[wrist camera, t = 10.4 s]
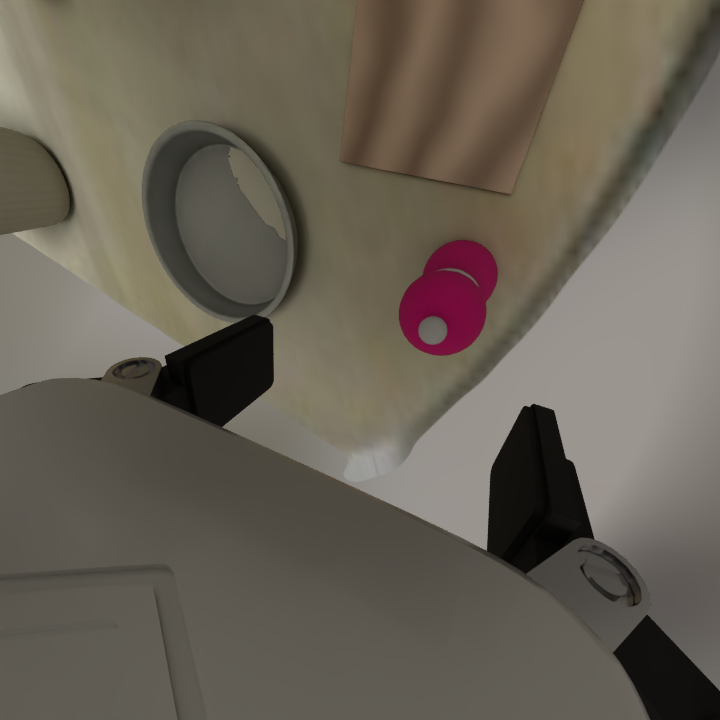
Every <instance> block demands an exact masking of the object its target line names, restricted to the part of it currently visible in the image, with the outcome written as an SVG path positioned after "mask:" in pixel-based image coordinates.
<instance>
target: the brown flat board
mask: <svg viewBox="0 0 720 720" xmlns="http://www.w3.org/2000/svg"><path fill="white" fill-rule="evenodd" d="M583 1H584V0H357V6H356V15H355V25H354V34H353V43H352V52H351V62H350V71H349V80H348V89H347V98H346V108H345V117H344V126H343V135H342V145H341V154H340V162H345V163H350V164H355V165H361V166H366V167H371V168H376V169H382V170H387V171H392V172H397V173H402V174H408V175H413V176H418V177H423V178H428V179H434V180H439V181H444V182H449V183H455V184H460V185H465V186H470V187H475V188H481V189H486V190H491V191H496V192H501V193H507V194H511V193H512V190H513V188H514V185H515V182H516V180H517V177H518V174H519V172H520V169H521V166H522V164H523V161H524V158H525V156H526V153H527V150H528V148H529V145H530V142H531V140H532V137H533V134H534V132H535V129H536V126H537V124H538V121H539V118H540V116H541V113H542V110H543V108H544V105H545V102H546V100H547V97H548V94H549V92H550V89H551V86H552V84H553V81H554V78H555V76H556V73H557V70H558V68H559V65H560V62H561V60H562V57H563V54H564V52H565V49H566V46H567V44H568V41H569V38H570V36H571V33H572V30H573V28H574V25H575V22H576V20H577V17H578V14H579V12H580V9H581V6H582V4H583Z"/></svg>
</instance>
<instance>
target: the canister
mask: <svg viewBox="0 0 720 720" xmlns="http://www.w3.org/2000/svg"><path fill="white" fill-rule="evenodd" d="M69 207H70V198H69V192H68V188H67V185H66V182H65V179H64V176H63V175H62V172H61V170H60V169H59V167H58V165H57V164H56V163H55V160H54V159H53V158H52V157H51V155H50V154H49V153H48V152H47V151H46V149H45V148H44V147H42V146H41V145H40V144H39V143H38V142H36V141H35V140H33V139H32V138H30V137H28V136H26V135H24V134H22V133H19V132H17V131H14V130H10V129H7V128H3V127H0V235H2V234H8V233H14V232H19V231H25V230H30V229H35V228H40V227H45V226H49V225H53V224H56V223H58V222H60V221H62V220H63V219H64V218H65V217H66V216H67V214H68V211H69Z"/></svg>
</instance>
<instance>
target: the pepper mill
mask: <svg viewBox="0 0 720 720" xmlns="http://www.w3.org/2000/svg"><path fill="white" fill-rule="evenodd" d="M497 274H498V271H497V265H496V262H495V260H494V258H493V256H492V255H491V253H490V252H489V251H488V250H487V249H486V248H485V247H483V246H482V245H480V244H479V243H476V242H473V241H468V240H457V241H453V242H449V243H447V244H445V245H443V246H442V247H440V248H439V249H437V250H436V251H435V252H434V253H433V254H432V256H431V257H430V259H429V260H428V262H427V264H426V266H425V269H424V272H423V276H421V277H420V278H418V279H417V280H416V281H414V282H413V283H412V284H411V285H410V286H409V287H408V289H407V290H406V292H405V294H404V296H403V298H402V300H401V303H400V308H399V321H400V326H401V329H402V331H403V333H404V335H405V337H406V338H407V340H408V341H409V342H410V343H411V344H412V345H413V346H414V347H416V348H417V349H419V350H420V351H423V352H425V353H428V354H432V355H439V356H442V355H450V354H454V353H457V352H460V351H462V350H463V349H465V348H467V347H468V346H470V345H471V344H472V343H473V342H474V341H475V340H476V338H477V337H478V336H479V334H480V332H481V331H482V329H483V326H484V323H485V319H486V303H485V302H486V301H487V300H488V299H489V297H490V296H491V294H492V292H493V290H494V288H495V285H496V282H497Z"/></svg>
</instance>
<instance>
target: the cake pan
mask: <svg viewBox="0 0 720 720" xmlns="http://www.w3.org/2000/svg"><path fill="white" fill-rule="evenodd" d="M230 147H233V148H236V149H239V150H242V151H243V152H244V153H245V154H246V155H247V156H248V157H249V158H250V159H251V160H252V161H253V163H254V164H255V165H256V166H257V168H258V169H259V170H260V172H261V173H262V174H263V176H264V178H265V179H266V181H267V182H268V184H269V186H270V188H271V190H272V192H273V194H274V196H275V198H276V200H277V203H278V205H279V208H280V211H281V214H282V218H283V222H284V226H285V231H286V238H287V241H286V240H284V239H282V238H280V237H279V235H278V233H277V231H276V230H275V228H273V227H271V226H269V225H267V224H265V222H264V221H263V220H262V219H261V217H260V216H259V215H258V213H257V212H256V211H255V209H254V208H253V206H252V205H251V204H250V202H249V201H248V200H247V198H246V197H245V195H244V194H243V193H242V191H241V190H240V188H239V184H237V182H238V178H235V177H234V176H233V173H232V170H231V167H230V164H229V161H228V157H230V156H228V154H229V149H230ZM142 204H143V212H144V217H145V222H146V226H147V230H148V233H149V237H150V239H151V242H152V245H153V247H154V250H155V252H156V254H157V256H158V258H159V260H160V262H161V264H162V266H163V268H164V269H165V271H166V273H167V274H168V276H169V277H170V279H171V280H172V281H173V283H174V284H175V285H176V286H177V288H178V289H179V290H180V291H181V292H182V293H183V294H184V295H185V297H186V298H188V299H189V300H190V301H191V302H192V303H193V304H194V305H196V306H197V307H198V308H200V309H201V310H202V311H204V312H206V313H207V314H209V315H211V316H213V317H215V318H217V319H220V320H223V321H226V322H231V323H237V322H239V321H241V320H243V319H245V318H247V317H249V316H252V315H258V316H262V317H266V316H267V315H269V314H270V313H271V312H272V311H273V310H274V309H275V308H276V307H277V306H278V305H279V303H280V302H281V301H282V299H283V297H284V295H285V293H286V291H287V289H288V286H289V283H290V280H291V278H292V276H293V273H294V270H295V267H296V262H297V255H298V235H297V228H296V223H295V218H294V215H293V211H292V208H291V206H290V203H289V200H288V198H287V196H286V194H285V192H284V190H283V188H282V187H281V185H280V183H279V181H278V180H277V179H276V177H275V176H274V175H273V173H272V172H271V171H270V170H269V169H268V167H267V166H266V165H265V164H264V163H263V162H262V160H261V159H260V158H259V157H258V155H257V154H256V153H255V152H254V151H253V150H252V149H251V148H250V147H249V146H248V145H247V144H246V143H245V142H244V141H243V140H241V139H240V138H239V137H237V136H236V135H235V134H233V133H232V132H230V131H229V130H227V129H225V128H223V127H220V126H218V125H215V124H213V123H209V122H205V121H186V122H182V123H178V124H176V125H174V126H172V127H170V128H169V129H168V130H166V131H165V132H164V133H163V134H162V135H161V136H160V137H159V138H158V139H157V140H156V142H155V143H154V145H153V146H152V148H151V150H150V152H149V155H148V157H147V160H146V163H145V167H144V172H143V180H142Z"/></svg>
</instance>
